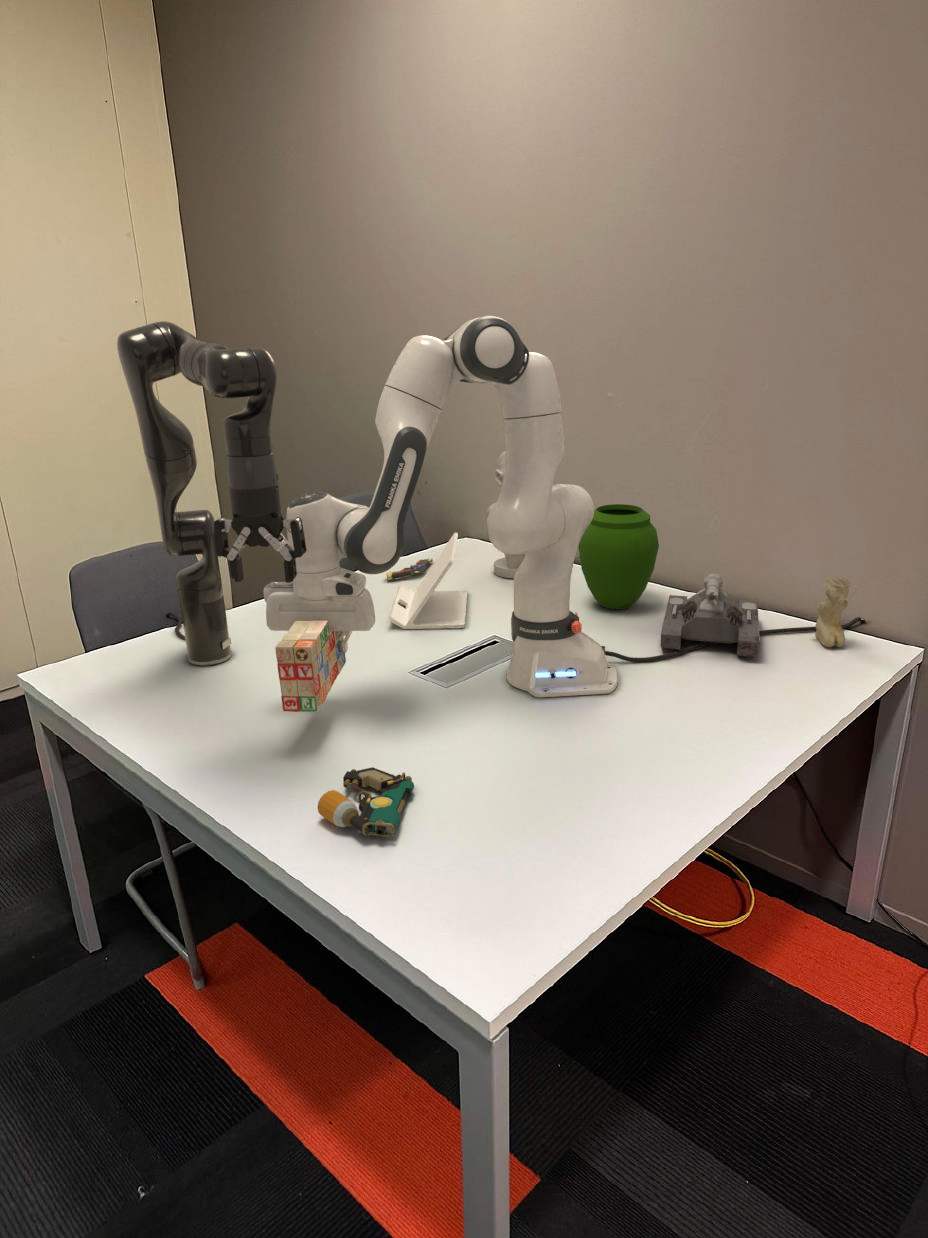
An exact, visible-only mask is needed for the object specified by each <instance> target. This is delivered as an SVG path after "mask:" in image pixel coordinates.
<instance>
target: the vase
mask: <svg viewBox="0 0 928 1238" xmlns="http://www.w3.org/2000/svg"><path fill="white" fill-rule="evenodd" d="M659 543H660V542H659V537H658V531H657V528H656V527H655V526H654V524H653V523H652V522H651V515H650V514H649V512H647V511H645V510H644V509H643V508H642V507H641V506H638V505H633V504H622V503H621V504H619V503H616V504H615V503H614V504H604V505H601V506H598V507H597V508H594V516H593V519H592V521H591V523H590V525H589V526H588V527H587V529H586V530H585V532H584V534H583V536H582V538H581V541H580V544H579V547H578V554H579V562H580V569H581V571H582V574H583V577H584V580H585V583H586V585H587V588H588V590H589V591H590V594H592V597H593V598H594V600H595V601H596V602H597V603H598V604H599V605H600V606H602V607H604V608H606V609H609V610H625V609H628V608H630V607H632V606H634V604H636V602H638V601H639V599H640V597H641V596H642V595H643V593H644V592H645V590H646V588H647V586H648V584H649V581H650V579H651V577H652V574H653V572H654V570H655V566H656V562H657V557H658V552H659V548H660V544H659Z"/></svg>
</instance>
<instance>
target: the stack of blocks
mask: <svg viewBox="0 0 928 1238" xmlns="http://www.w3.org/2000/svg"><path fill="white" fill-rule="evenodd" d="M344 639H345V636H343V634H342V631H335V629H329V625H328V621H295V622H294V624H293V625H292V627H291V628H290V629H289V631H286V633H285V634H284V635H283V637H282V638H281V639H280V641H278V642H277V644H276V646H275V656H276V662H277V664H276V665H277V674H278V680H279V685H280V686H279V687H280V694H281V697H280V698H281V704H282V711H283V712H288V713H289V712H290V713H293V712H294V713H295V712H297V713H299V712H303V713H304V712H305V713H309V712H310V713H317V712H319V710H320V709H321V707H322V706H323V704H324V702H325V701H326V699H327V697H328V695H329V693H330V692H331V690H332V687H333V685H334V683H335V681H336V680H337V678H338V676H339V675H340V673H341V672H342V670H343V668H344V667H345V665H346V663H347V657H346V652H338V649H339V648H338V643H339V641H344Z"/></svg>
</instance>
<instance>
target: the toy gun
mask: <svg viewBox="0 0 928 1238" xmlns="http://www.w3.org/2000/svg"><path fill="white" fill-rule="evenodd" d="M432 563H434V558H424V559H419V560H418V561H416V563H414V564H413V565H410V566H409V567H404V568H403V569H401V570H397V571H391V570H389V571H387V572H386V574H385V575H386V580H387V581H392V580H397V579H400V578H405V577H409V576H411V575H412V576H413V575H418V574H422V572H424V571H425V570H426V568H427V566H429V565H430V564H432Z"/></svg>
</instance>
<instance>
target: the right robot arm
mask: <svg viewBox="0 0 928 1238" xmlns="http://www.w3.org/2000/svg"><path fill="white" fill-rule="evenodd" d="M458 382H462V383H469V384H487V383H491V384H492V385H493V386H494V387H495V389H496V391H497V392H498V395H499V398H500V401H501V416H502V427H503V436H504V449H505V450H504V451H505V452H506V464H505V473H504V479H503V483H502V486H501V488H500V492H499V495H498V497H497V500H496V502H495V503H496V504H495V506H494V507H493V509H492V510H491V511H490V513H489V515H488V516H487V519H486V533H487V536H488V539H489V541H490V543H491V544H492V546H493V547H494V548H495V549H496V550H497V551H499V553H502V554H504V555H505V554H526V555H525V557H524V559H523V561H522V563H521V565H520V566H519V567H518V569H517V571H516V573H515V575H514V578H513V611H512V612H511V618H510V635H511V640H512V645H511V646H512V647H511V655H510V660H509V665H508V669H507V672H506V675H505V678H506V681H507V683H509V684H510V685H511V686H513V687H515V688H517V689H519V690H522V691H525V692H527V693H529V694H530V695H531V696H533V697H535V698H556V697H572V696H573V697H574V696H588V695H589V696H590V695H591V696H592V695H607V694H611V693H612V692H613V691H615V690H616V688H617V686H618V673H617V670H616V668H615V667H614V666H613V665H612V664H611V663H609V662H607V658H606V656H607V657H612V658H615V659H619V660H622V661H625V662H631V663H649V662H655V661H662V660H667V659H670V658H674V657H678V656H681V655H684V654H685V653H688V652H692V651H694V650H697V649H701V648H704V647H708V646H710V645H715V644H720V643H719V642H706V641H702V642H700V643H696V644H693V645H690V646H687V647H684V648H682V649H680V650H679V651H676V652H673V651H672V652H670V653H664V654H660V655H655V656H647V657H646V656H645V657H632V656H627V655H623V654H621V653H618V652H614V651H609V650H606V645H601V644H600V643H599V642H598V641H596V640H595V639H593V638H591V637H590V636H589V635H587V634H586V633H585V632H583V631H582V630H583V626H582V625H583V624H582V622H581V621H580V616H579V615H578V612H577V611H575V613H574V612H573V611H571V610H570V600H571V599H570V597H571V579H572V572H573V567H574V563H575V561H576V560H575V559H576V556H577V553H578V551H579V544H580V541H581V538H582V536H583V534H584V532H585V530H586V529H587V527H588V526H589V525H590V523H591V521H592V519H593V516H594V510H595V506H594V501H593V499H592V497H591V495H590V494H589V492H588V491H587V490H586V489H585V488H584V487H582V486H580V485H577V484H568V483H557V484H554V481H555V477H556V473H557V470H558V468H559V467H560V464H561V463H562V462H563V460H564V457H565V455H566V443H565V442H566V441H565V430H564V419H563V417H564V416H563V408H562V407H563V406H562V399H561V392H560V387H559V382H558V379H557V374H556V371H555V368H554V365H553V362H552V360H550V358H549V357H548V356H546V355H544V354H542V353H539V352H533V351H529V349H528V348H527V346H526V345H525V343H524V341H523V340H522V338H521V337H520V335H519V333H518V331H516V328H515V327H514V326H513V325H512V324H511V323H510V322H509V321H507V320H506V319H504V318H501V317H499V316H496V315H485V316H480V317H475V318H472V319H470V320H467V321H466V322H465V323H463V324H462V325H461V326H460V327H458V328H456V329H454V330H453V331H452V332H451V333H450V334H449V335H448V336H446V337H445V338H443V339H440V338H438V337H435V336H432V335H424V334H423V335H416V336H414V337H412V338H411V339H409V340H408V341H407V343H406V344H405V346H404V347H403V348H402V350H401V352H400V354H399V355H398V357H397V359H396V361H395V362H394V364H393V366H392V368H391V371H390V372H389V375H388V377H387V379H386V382H385V384H384V387H383V389H382V392H381V394H380V398H379V400H378V404H377V408H376V414H375V419H374V423H375V428H376V430H377V433H378V435H379V437H380V440H381V444H382V448H383V465H382V470H381V471H380V472H381V473H380V476H379V479H378V482H377V485H376V487H375V490H374V494H373V497H372V498H371V499H372V500H371V503H370V505H369V506H367V505H364V504H359V503H358V504H357V503H352V502H348V501H345V500H342V499H340V498H337V497H335V496H333V495H331V494H329V493H328V492H326V491H323V490H322V491H320V490H318V491H309V492H306V493H303V494H300V495H298V496H296V497H295V498H293V499H292V500H291V501H290V502H289V504H288V506H287V509H286V520H288V519H295V518H296V517H300V518H301V519H302V524H303V530H304V536H305V542H306V549H307V551H306V552H305V553H304V554H303V555H302V556H301V557H298V558H296V569H297V576H296V577H295V578H294V580H293V581H292V582H291V583H286V581H270V582H269V583H267V584H266V585H265V586H264V587H263V590H262V592H263V600H264V602H265V603H266V604H265V605H266V607H265V621H266V623H265V624H266V627H267V628H268V629H269V630H270V631H272V632H288V631H289V629H290V628H291V627H292V625H293V624H294V622H295V621H328V625H329V629H335V631H342V634H343V636H344V641H339V643H338V648H339V649H338V652H345V653H348V650H349V644H348V643H349V642H348V641H349V640H350V638H351V636H352V634H353V632H369V631H370V630H372V629H373V627H374V625H376V624H375V623H376V612H375V605H374V602H373V601H374V600H373V597H372V594H371V592H370V590H368V588H366V585H367V577H366V574H367V575H380V574H382V573H383V574H384V573H386V572H388V571H390V569H393V567H394V566H395V565H396V564H397V563H398V562H399V560H400V558H401V557H402V555H403V550H404V545H405V544H404V543H405V542H404V527H405V521H406V517H407V514H408V511H409V507H410V505H411V502H412V499H413V496H414V493H415V490H416V486H417V483H418V481H419V477H420V475H421V471H422V467H423V464H424V461H425V460H424V459H425V456H426V453H427V451H428V447H429V444H430V441H431V439H432V436H433V433H434V431H435V429H436V426H437V424H438V422H439V419H440V416H441V414H442V411H443V409H444V405H445V403H446V401H447V398H448V396H449V394H450V392H451V390H452V389H453V387H454V386H455V385H456V384H457V383H458ZM286 537H287V538H286V539H287V540H288V543H289V544H290V546H291V547H292V548H293V549H294V546H293V540H292V533H289V532H288V529H287V528H286ZM342 559H347V560H348V561H349V563H350V564H351V566H352V567H353V568H354V569H355V570H357V571H358V572H356V571H353V570H349V569H346V568H343V567H341V563H340V561H341V560H342ZM359 572H360V573H359ZM860 617H861V616H857V617H855V618H853V619H852V620H850V621H849V622H847V623H845V624H841V627H842V629H843V630H845V629H848V628H850V627H853V626H854V625H856V623H858V622H860V623H861V624H867V621H866V620H865V619H864V620H861V618H862V617H861V618H860ZM816 631H817V630H816V626H801V627H800V626H799V627H786V628H785V627H784V628H774V629H772V628H771V629H762V630H759V636H761V635H762V636H763V635H773V634H774V635H775V634H783V633H799V632H816Z"/></svg>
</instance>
